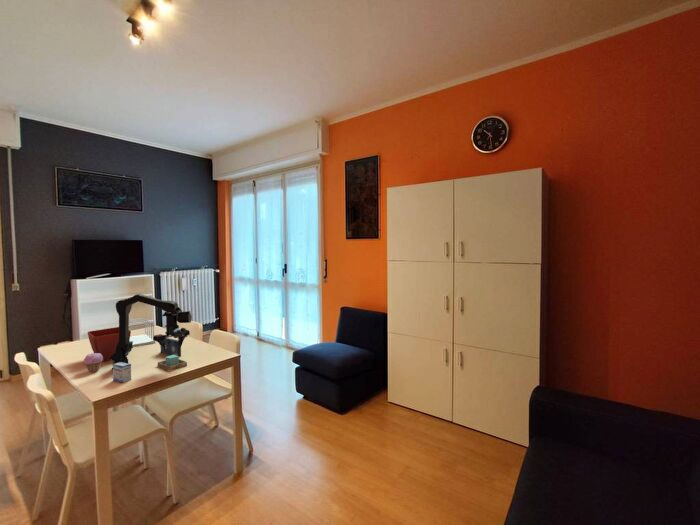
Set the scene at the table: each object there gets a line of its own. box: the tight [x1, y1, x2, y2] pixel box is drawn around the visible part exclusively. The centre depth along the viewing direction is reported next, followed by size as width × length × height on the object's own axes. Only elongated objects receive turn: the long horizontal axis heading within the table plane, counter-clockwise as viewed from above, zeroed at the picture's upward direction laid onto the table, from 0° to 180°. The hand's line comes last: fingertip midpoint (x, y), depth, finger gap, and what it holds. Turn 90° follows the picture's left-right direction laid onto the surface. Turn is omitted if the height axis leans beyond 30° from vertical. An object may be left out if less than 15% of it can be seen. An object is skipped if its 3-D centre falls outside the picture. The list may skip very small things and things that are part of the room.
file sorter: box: [129, 317, 156, 347], centre depth 246 cm, size 25×17×16 cm
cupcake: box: [83, 352, 104, 373], centre depth 188 cm, size 9×9×10 cm
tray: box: [157, 359, 188, 371], centre depth 196 cm, size 10×13×2 cm
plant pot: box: [87, 326, 132, 363], centre depth 211 cm, size 19×19×17 cm
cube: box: [165, 355, 180, 366], centre depth 196 cm, size 5×5×5 cm
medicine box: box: [112, 362, 132, 384], centre depth 175 cm, size 8×4×9 cm, turn 69°
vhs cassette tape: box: [160, 337, 182, 357], centre depth 218 cm, size 18×3×10 cm, turn 59°
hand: (172, 349), depth 196 cm, fingers open, 9 cm apart
